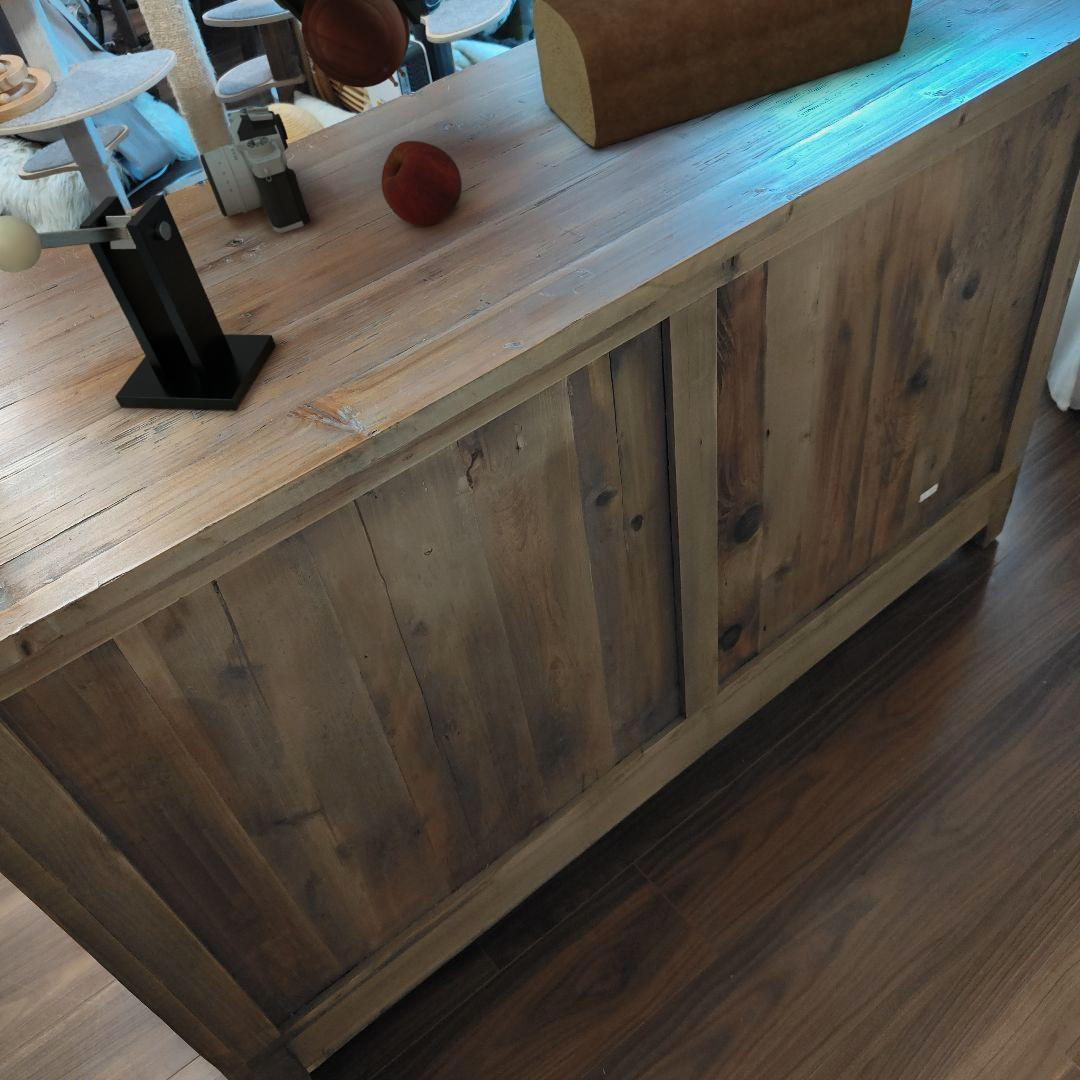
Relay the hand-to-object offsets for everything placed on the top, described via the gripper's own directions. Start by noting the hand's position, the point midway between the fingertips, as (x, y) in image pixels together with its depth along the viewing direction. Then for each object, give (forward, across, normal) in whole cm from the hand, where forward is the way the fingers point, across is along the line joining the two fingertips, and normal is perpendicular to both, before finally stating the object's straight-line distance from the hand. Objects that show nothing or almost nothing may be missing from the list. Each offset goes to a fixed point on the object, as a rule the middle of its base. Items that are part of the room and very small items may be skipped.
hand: (364, 14), depth 103 cm
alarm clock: (+3, 0, -6) cm, 7 cm away
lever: (-35, -6, -33) cm, 49 cm away
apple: (-1, +8, -21) cm, 23 cm away
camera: (+1, -11, -19) cm, 22 cm away
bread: (+19, +35, -1) cm, 40 cm away
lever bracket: (-19, -5, -39) cm, 44 cm away
